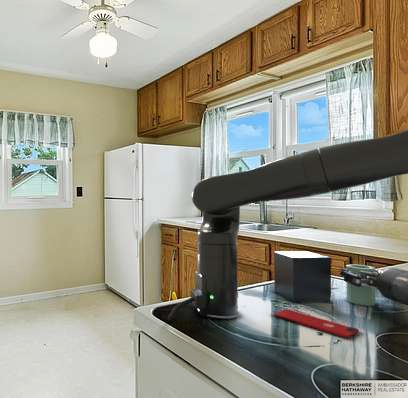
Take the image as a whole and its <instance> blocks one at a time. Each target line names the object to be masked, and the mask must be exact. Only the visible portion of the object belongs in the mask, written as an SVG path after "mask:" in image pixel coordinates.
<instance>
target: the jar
mask: <svg viewBox="0 0 408 398" xmlns="http://www.w3.org/2000/svg"><path fill="white" fill-rule="evenodd" d="M345 269H348V270H351V271H356V272H359V271H367V272H375V270H376V267H375V266H371V265H365V264H354V263H352V264H347V265H345ZM356 275H357V274H356ZM366 275H367V274H364V279H366ZM345 283H346V284H345V285H346V301H347V302H348V303H351V304H354V305H359V306H367V307H369V306H370V307H371V306H375V305H376V289H374V288H371V287H369V286H365V285H361V287H357V286H355V285H352V284H350V283H348V282H345Z"/></svg>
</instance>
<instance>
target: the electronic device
mask: <svg viewBox="0 0 408 398" xmlns="http://www.w3.org/2000/svg"><path fill="white" fill-rule="evenodd" d="M273 315H274V316H275V317H277V318H280V319H284V320H286V321H290V322H293V323H297V324H299V325H303V326H307V327H309V328H313V329H316V330H319V331H322V332H326V333H329V334H331V335H332V334H333V335H336V336H338V337H342V338H344V339H345V338H346V339H348V338H350V337H352V336H353V335H355V334H358V333H359V332H360V330H359V328H357V327H353V326H349V325H345V324H341V323H338V322H334V321H331V320H328V319H324V318H321V317H316V316H313V315H309V314H306V313H302V312H300V311H299V312H298V311H295V310H292V309H288V308H287V309H286V308H285V309H283V310H279V311H277V312H274V314H273Z"/></svg>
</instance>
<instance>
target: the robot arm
mask: <svg viewBox="0 0 408 398" xmlns="http://www.w3.org/2000/svg"><path fill="white" fill-rule="evenodd" d="M404 175H408V129H406V130H402V131H400V132H396V133H393V134H390V135H385V136H381V137H376V138H368V139H360V140H353V141H347V142H341V143H336V144H332V145H327V146H321V147H319V148H314V149H311V150H307V151H304V152H299V153H296V154H293V155H290V156H287V157H283V158H280V159H278V160H277V159H276V160H274V161H271V162H268V163H266V164H263V165H259V166H258V167H255V168H251V169H247V170H243V171H238V172H233V173H227V174H222V175H213V176H207V177H205V178H202V179H200V181H199V182H197V183H196V184H195V186H194V187H193V190H192V192H191V201H192V203H193V206H194V207H195V208H196V209H197V210H198V211H199V212H201V214H202V215H201V217H202V218H201V224H200V226H199V228H198V230H197V236H196V237H197V238H196V239H197V270H196V271H195V273H194V275H195V276H194V277H195V279H194V280H195V281H194V282H195V288H193V289H190V297H189V298H188V299H187V298H186V299H185V300H183V301H181V302H179V303H178V304H176V305H175V306H174V308H173V309H172V310H171V312H170V314H169V315H168V316H167V321H168V322H169V321H172V320H173V319H174V318H175V316H176V314H177V313H178V311H179V310H181V308H183V307H184V306H186V305H188V304H192V305H193V306H194V308H195V310H196V311H197V313H198V314H199V315H200V316H201V317H202V318H210V319H214V320H231V319H235V318H237V317H238V316H239V304H238V303H239V302H238V300H239V292H238V285H239V284H238V236H239V231H240V223H241V221H240V219H241V218H240V217H241V216H240V215H241V214H240V213H241V207H244V206H247V205H250V204H256V203H261V202H273V201H288V200H295V199H303V198H310V197H314V196H321V195H324V194H325V195H326V194H330V193H334V192H339V191H342V190H343V191H344V190H347V189H352V188H356V187H360V186H364V185H368V184H371V183H372V184H373V183H375V182H379V181H383V180H386V179H391V178H394V177H399V176H404ZM356 274H357V275H356ZM364 274H367V275H366V279H364ZM339 276H340V277H342V278H343V282H345V283H346V282H348V283H350V284H352V285H355V286H357V287H361V285H365V286H369V287H371V288H374V289H375V290H378V291H379V293H380V294H381V296H383V297H384V298H385V299H388V300H391V301H393V302H396V303H399V304H402V305H405V306H407V307H408V270H405V269H402V268H398V267H397V268H396V267H390V268H387V269H385V270H381V269H380V270H376V269H375V272H367V271H359V272H356V271H351V270H348V269H346V268H343V267H342V268H340V269H339Z"/></svg>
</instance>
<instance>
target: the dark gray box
mask: <svg viewBox="0 0 408 398" xmlns="http://www.w3.org/2000/svg"><path fill="white" fill-rule="evenodd" d="M332 260H333V259H332V257H330V256H326V255H322V254H318V253H314V252H312V251H274V252H273V265H274V266H273V267H274V268H273V270H274V271H273V275H274V276H273V277H274V278H273V279H274V280H273V281H274V282H273V283H274V284H273V285H274V288H273V289H274V292H275V293H276V294H278V295H279V296H281V297H283V298H285V299H287V300H288V301H290V302H292V303H331V302H332V263H333V261H332Z"/></svg>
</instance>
